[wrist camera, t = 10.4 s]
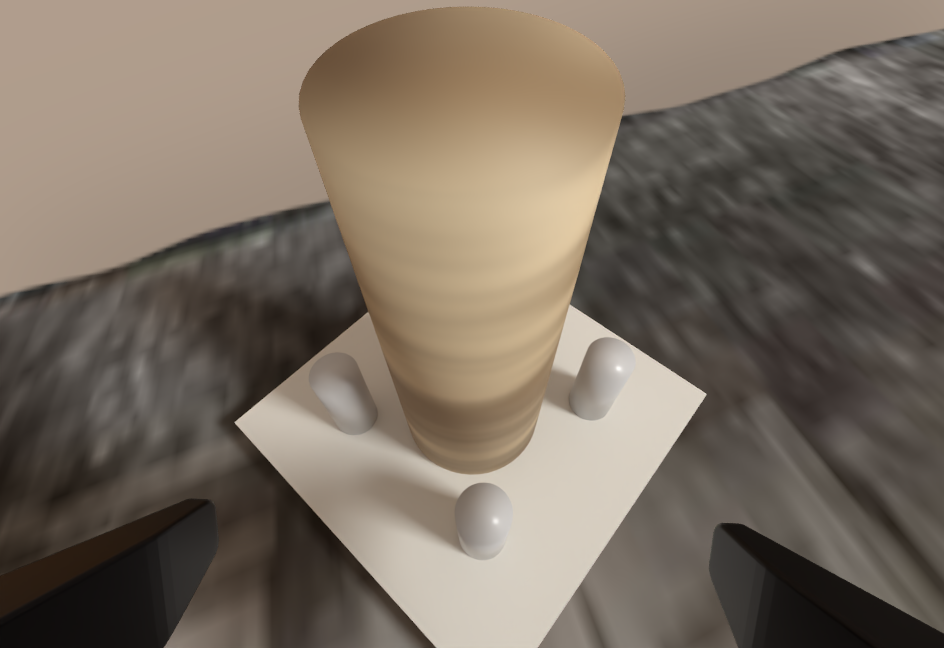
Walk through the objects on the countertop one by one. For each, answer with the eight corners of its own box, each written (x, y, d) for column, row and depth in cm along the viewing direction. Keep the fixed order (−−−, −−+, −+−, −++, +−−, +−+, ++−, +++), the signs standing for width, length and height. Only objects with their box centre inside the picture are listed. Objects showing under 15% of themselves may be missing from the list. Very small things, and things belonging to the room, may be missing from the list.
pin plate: (492, 705, 15) (499, 736, 10) (250, 436, 19) (187, 382, 15) (692, 409, 20) (750, 349, 16) (462, 254, 25) (459, 177, 20)
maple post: (530, 485, 17) (627, 212, 6) (393, 462, 17) (242, 171, 6) (542, 362, 19) (623, 16, 8) (423, 345, 20) (354, -2, 9)
